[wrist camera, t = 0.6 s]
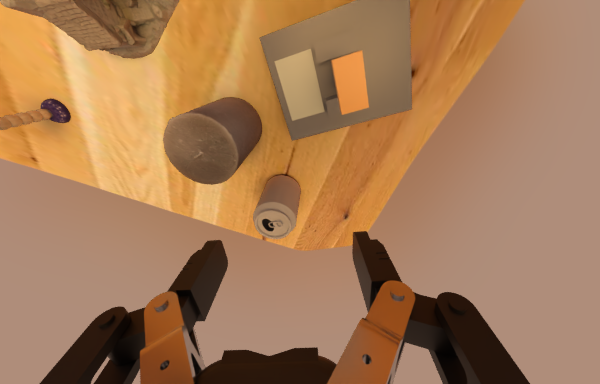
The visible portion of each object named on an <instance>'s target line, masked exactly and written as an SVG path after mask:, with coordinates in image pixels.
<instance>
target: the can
mask: <svg viewBox="0 0 600 384" xmlns="http://www.w3.org/2000/svg"><path fill="white" fill-rule="evenodd" d="M300 192H301V191H300V186H299V185H298V183H297V182H296V181H295V180H294V179H293V178H291V177H288V176H284V175H278V176H274V177H272V178H271V179H270V180H269V181H268V182H267V184H266V186H265V188H264V191H263V193H262V195H261V197H260V200H259V202H258V204H257V207H256V209H255V211H254V214H253V220H254V223H255V227H256V230H257V231H258V232H259V233H260V234H261V235H263V236H265V237H267V238H270V239H281V238H284V237H286V236H287V235H288V234H289V233H290V232H291V231H292V230H293V229H294V227H295V226H296V219H297V213H298V206H299V199H300Z"/></svg>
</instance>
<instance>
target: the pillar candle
mask: <svg viewBox="0 0 600 384" xmlns="http://www.w3.org/2000/svg"><path fill="white" fill-rule="evenodd" d="M261 133H262V124H261V120H260V117H259V115H258V113H257V112H256V110H255V109H254V108H253V107H252V106H251V105H250V104H249V103H247V102H246V101H244V100H242V99H239V98H233V97H229V98H223V99H220V100H217V101H215V102H212V103H209V104H207V105H204V106H202V107H200V108H196V109H194V110H191V111H189V112H186V113H184V114H180V115H178V116H176V117H175V118H173V117H172V119H170V120H169V122H168V125H167V127H166V129H165V133H164V138H163V141H164V148H165V152H166V154H167V156H168V158H169V160H170V161H171V163H172V164H173V165H174V166H175V167H176V169H178V171H179V172H181V173H182V174H183V175H184V176H186V177H188V178H189V179H191V180H193V181H196V182H199V183H203V184H219V183H222V182H224V181H226V180H228V179H229V178H230V177H231V176H232V175H233V174H234V173H235V171H236V170H237V169H238V168H239V166H240V165H241V164H242V162H243V161H244V160H245V158H246V157H247V156H248V155H249V153H250V152H251V151H252V149H253V148H254V147H255V145H256V144H257V143H258V141H259V139H260V137H261Z"/></svg>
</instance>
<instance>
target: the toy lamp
mask: <svg viewBox="0 0 600 384" xmlns="http://www.w3.org/2000/svg"><path fill="white" fill-rule="evenodd" d="M47 119H50V120H52V121H55V122H59V123H66V122H68V121H69V120H70V113H69V111H68V109H67V108H66V107H65V106H64V105H63V104H62V103H60V102H59V101H57V100H54V99H47V100H45V101H43V102H42V104H41V109H38V110H36V111H28V112H26V113H17V114H15V115H6V116H4V117H3V118H1V117H0V130H5V129H9V128H10V127H18V126H21V125H22V124H30V123H32V122H38V121H41V120H47Z"/></svg>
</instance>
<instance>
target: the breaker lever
mask: <svg viewBox="0 0 600 384" xmlns="http://www.w3.org/2000/svg"><path fill="white" fill-rule="evenodd" d="M331 64H332V70H333V75H334V81H335V86H336V92H337V97H338V102H339V108H340V111H341V114H342V115H344V114H347V113H351V112H355V111H358V110H362V109H366V108H369V103H368V95H367V86H366V78H365V69H364V61H363V52H362V50H361V51H357V52H354V53H351V54H348V55H345V56H342V57H339V58H336V59H333V60H331Z"/></svg>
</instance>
